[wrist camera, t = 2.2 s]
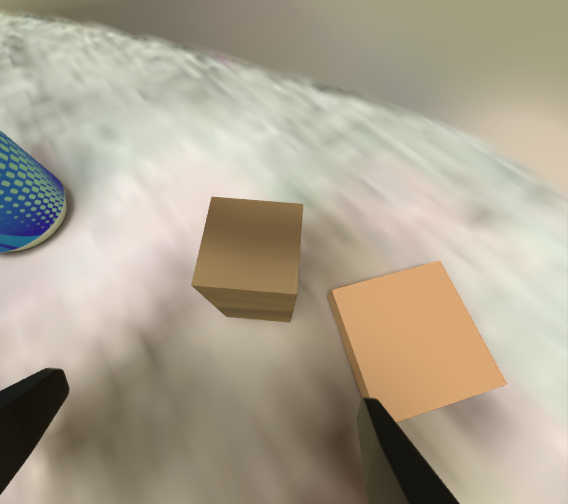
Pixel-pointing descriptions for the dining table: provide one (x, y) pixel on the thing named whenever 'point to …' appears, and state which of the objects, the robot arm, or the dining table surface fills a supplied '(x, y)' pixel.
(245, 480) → the dining table surface
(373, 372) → the terracotta tile
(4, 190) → the beer can
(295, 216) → the walnut block
